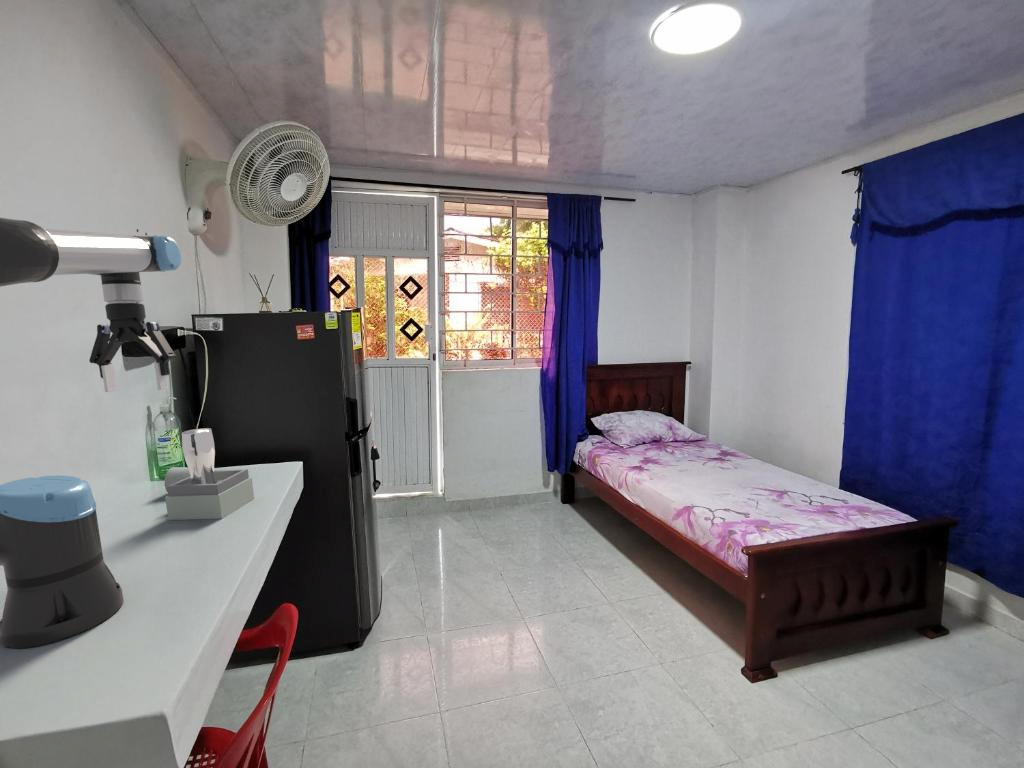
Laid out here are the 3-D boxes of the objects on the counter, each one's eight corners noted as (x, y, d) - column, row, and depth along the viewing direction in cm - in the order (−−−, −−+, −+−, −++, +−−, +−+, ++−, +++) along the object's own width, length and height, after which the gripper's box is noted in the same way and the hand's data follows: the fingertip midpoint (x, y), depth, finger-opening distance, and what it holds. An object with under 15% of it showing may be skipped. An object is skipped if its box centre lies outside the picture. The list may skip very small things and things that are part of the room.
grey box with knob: (222, 518, 123) (217, 485, 122) (156, 520, 124) (152, 487, 123) (254, 498, 137) (250, 468, 136) (195, 500, 138) (191, 470, 137)
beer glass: (216, 488, 128) (209, 431, 126) (185, 493, 125) (177, 435, 124) (221, 481, 134) (214, 426, 133) (192, 485, 132) (184, 430, 130)
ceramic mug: (196, 495, 143) (192, 469, 142) (165, 497, 142) (162, 471, 141) (213, 484, 153) (210, 459, 153) (184, 486, 152) (181, 462, 152)
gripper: (184, 300, 123) (196, 385, 125) (90, 306, 124) (103, 390, 127) (161, 299, 115) (174, 390, 118) (61, 305, 117) (75, 394, 120)
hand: (137, 390), depth 123 cm, fingers open, 13 cm apart
